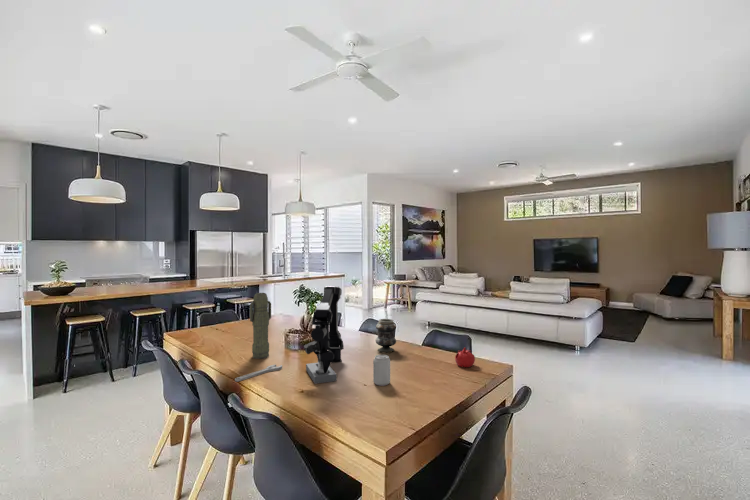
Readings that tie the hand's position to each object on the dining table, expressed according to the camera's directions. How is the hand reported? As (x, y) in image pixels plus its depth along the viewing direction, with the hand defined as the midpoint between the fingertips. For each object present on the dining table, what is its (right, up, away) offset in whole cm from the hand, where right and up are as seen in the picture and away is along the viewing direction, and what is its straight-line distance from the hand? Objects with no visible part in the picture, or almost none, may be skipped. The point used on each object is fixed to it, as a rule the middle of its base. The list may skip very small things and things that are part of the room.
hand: (322, 369), depth 172 cm
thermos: (-39, -4, +35) cm, 53 cm away
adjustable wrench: (-32, -5, +7) cm, 33 cm away
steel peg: (0, -4, 0) cm, 4 cm away
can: (+27, -4, -6) cm, 28 cm away
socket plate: (-2, -4, +4) cm, 6 cm away
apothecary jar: (+30, -4, +46) cm, 56 cm away
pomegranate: (+70, -4, +19) cm, 73 cm away
